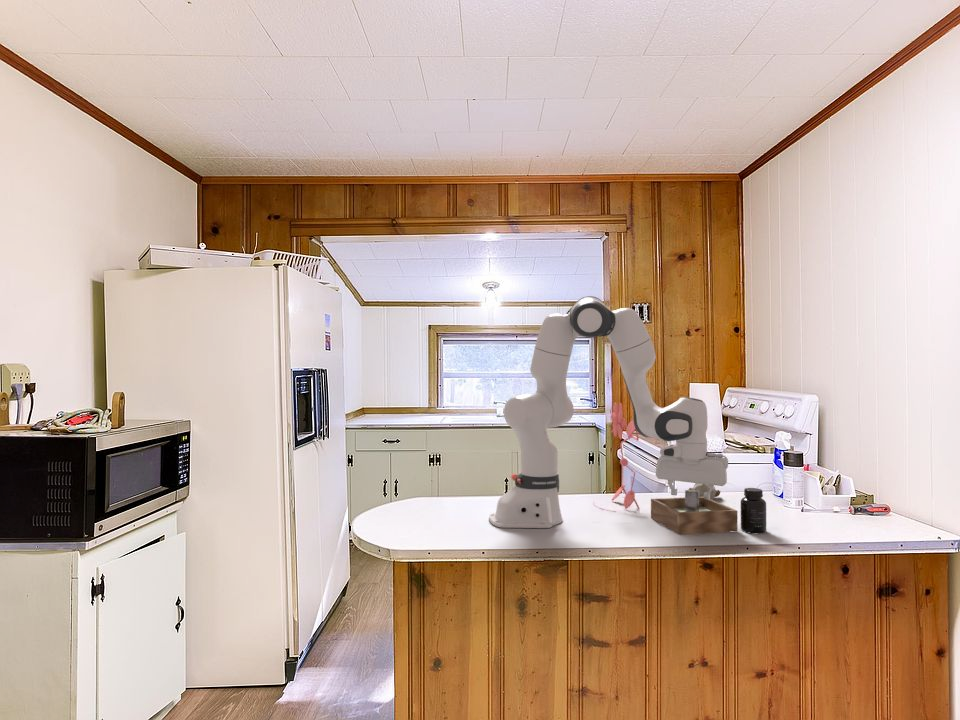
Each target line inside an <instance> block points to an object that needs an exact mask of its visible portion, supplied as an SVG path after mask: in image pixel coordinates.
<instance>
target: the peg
mask: <svg viewBox="0 0 960 720" xmlns="http://www.w3.org/2000/svg"><path fill="white" fill-rule="evenodd" d="M684 497H685V512H696V511H699V491H697V490H689V489H685V490H684Z"/></svg>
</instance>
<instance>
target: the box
mask: <svg viewBox="0 0 960 720" xmlns="http://www.w3.org/2000/svg"><path fill="white" fill-rule="evenodd" d="M650 518H651V519H652V520H653V521H655V522H657V523H659V524H661V525H662V526H664V527H666V528H667V529H669V530H670V531H673V532H674V533H676V534H677V535H694V534H695V535H696V534H713V533H714V532H719V533H731V532H730V531H737V532H738V510H737V509H734V508H732V507H730V506H727V505H725V504H722V503H720V502H718V501H715V500H714V499H713V500H711V499H709V500H707V499H704V497H699V511H696V512H685V496H684V497H666V498H665V497H664V498H663V497H662V498H661V497H660V498H658V497H657V498H650ZM714 534H715V533H714Z"/></svg>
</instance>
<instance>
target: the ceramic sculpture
mask: <svg viewBox="0 0 960 720" xmlns="http://www.w3.org/2000/svg"><path fill="white" fill-rule="evenodd" d="M688 490H697V491H699V497H704V493H705V492H707V493H708V491H709V490H710V488H708V484H699V483H694V485H693V487H689V488H688ZM720 494H721V490H720V489H716V488H715V486H714V488H713V490H712V491H711V493H710V499H711V500H713V501H714V499H715V498H717V497H719V496H720Z"/></svg>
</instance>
